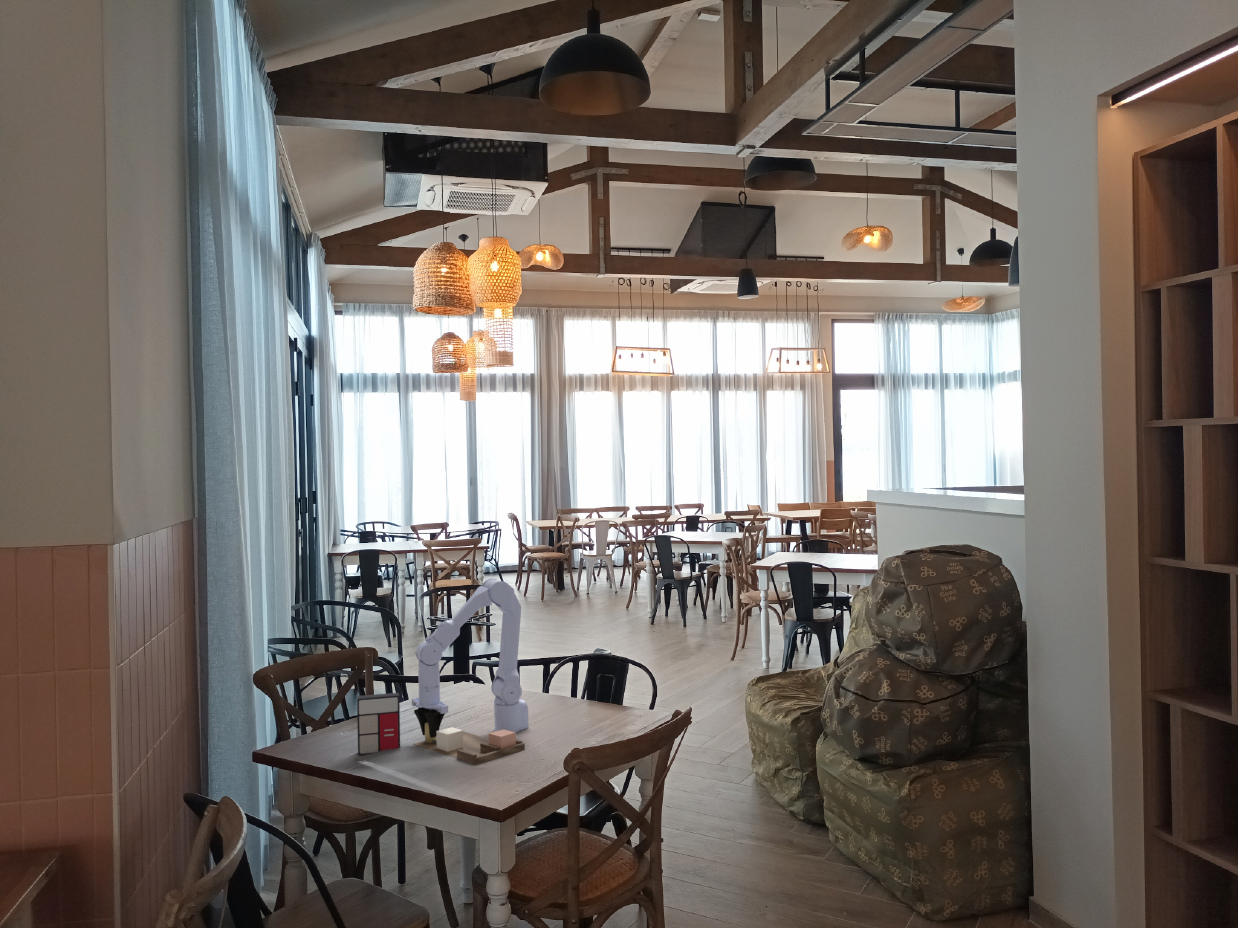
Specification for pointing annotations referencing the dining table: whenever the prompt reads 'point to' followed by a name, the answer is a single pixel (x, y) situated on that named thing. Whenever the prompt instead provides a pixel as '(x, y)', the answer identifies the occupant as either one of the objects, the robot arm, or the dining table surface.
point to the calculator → (378, 722)
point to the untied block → (502, 738)
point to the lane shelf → (475, 749)
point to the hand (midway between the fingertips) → (430, 735)
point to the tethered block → (445, 738)
